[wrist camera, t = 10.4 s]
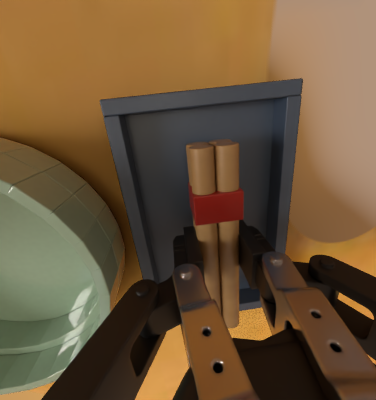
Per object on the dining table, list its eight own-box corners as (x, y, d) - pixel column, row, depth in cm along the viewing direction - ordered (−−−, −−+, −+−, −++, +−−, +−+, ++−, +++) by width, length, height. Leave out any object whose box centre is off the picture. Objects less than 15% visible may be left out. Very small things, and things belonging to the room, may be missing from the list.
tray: (109, 102, 12) (98, 99, 10) (283, 83, 13) (303, 78, 11) (155, 304, 18) (154, 325, 17) (269, 286, 19) (280, 304, 17)
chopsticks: (183, 143, 11) (188, 150, 9) (228, 138, 11) (244, 143, 9) (200, 302, 16) (205, 334, 13) (231, 297, 16) (242, 328, 14)
